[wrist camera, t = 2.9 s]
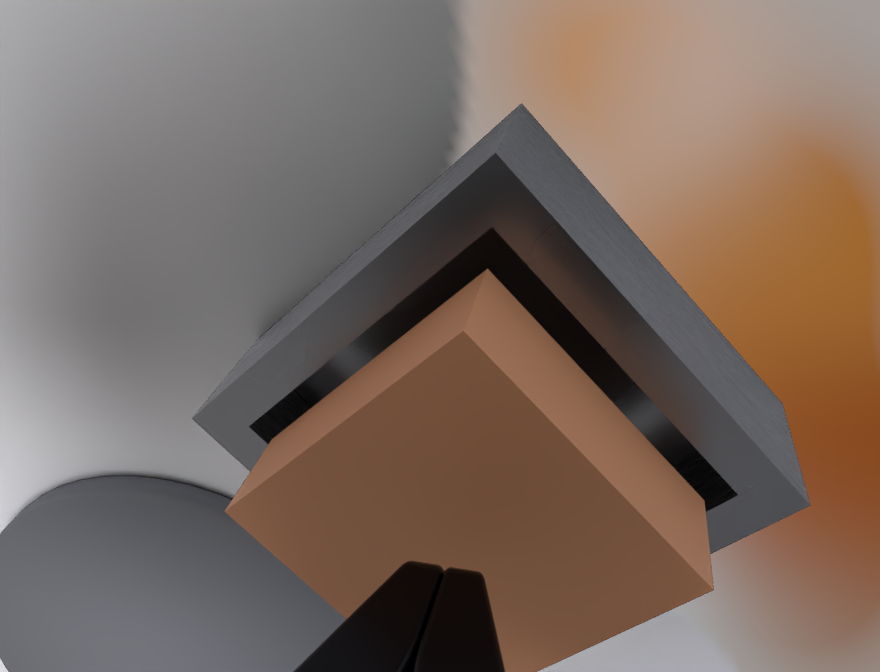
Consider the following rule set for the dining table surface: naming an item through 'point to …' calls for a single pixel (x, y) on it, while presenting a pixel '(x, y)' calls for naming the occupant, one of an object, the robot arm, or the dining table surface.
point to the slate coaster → (148, 585)
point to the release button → (483, 485)
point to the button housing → (552, 305)
